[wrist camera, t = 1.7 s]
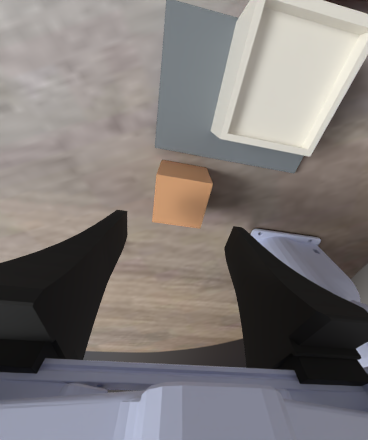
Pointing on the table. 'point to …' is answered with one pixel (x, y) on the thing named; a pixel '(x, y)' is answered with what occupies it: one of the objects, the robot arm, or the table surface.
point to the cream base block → (288, 72)
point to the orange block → (181, 194)
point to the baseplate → (201, 89)
